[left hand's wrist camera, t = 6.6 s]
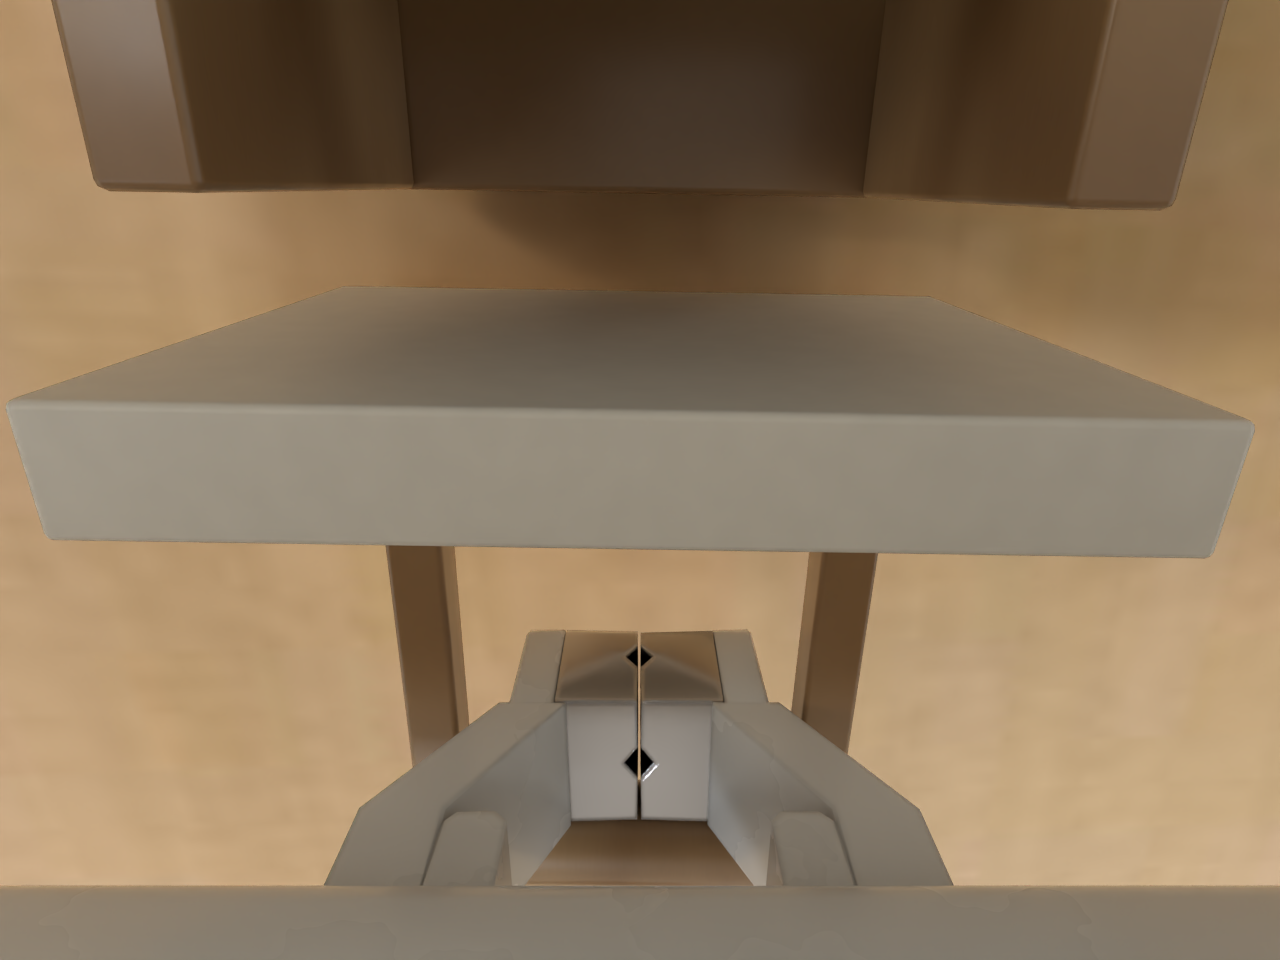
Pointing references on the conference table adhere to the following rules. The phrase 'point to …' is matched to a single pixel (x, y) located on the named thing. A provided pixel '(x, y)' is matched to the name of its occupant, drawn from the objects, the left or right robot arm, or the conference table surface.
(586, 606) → the conference table surface
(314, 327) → the drawer
